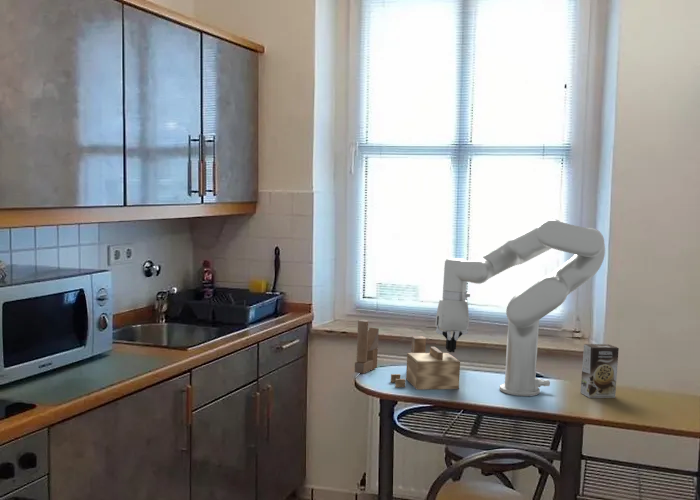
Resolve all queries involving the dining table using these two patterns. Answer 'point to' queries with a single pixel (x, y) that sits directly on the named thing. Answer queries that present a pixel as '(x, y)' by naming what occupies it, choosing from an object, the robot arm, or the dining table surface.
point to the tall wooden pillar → (418, 344)
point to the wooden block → (366, 347)
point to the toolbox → (430, 374)
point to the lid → (432, 356)
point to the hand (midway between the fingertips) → (450, 351)
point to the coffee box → (599, 370)
